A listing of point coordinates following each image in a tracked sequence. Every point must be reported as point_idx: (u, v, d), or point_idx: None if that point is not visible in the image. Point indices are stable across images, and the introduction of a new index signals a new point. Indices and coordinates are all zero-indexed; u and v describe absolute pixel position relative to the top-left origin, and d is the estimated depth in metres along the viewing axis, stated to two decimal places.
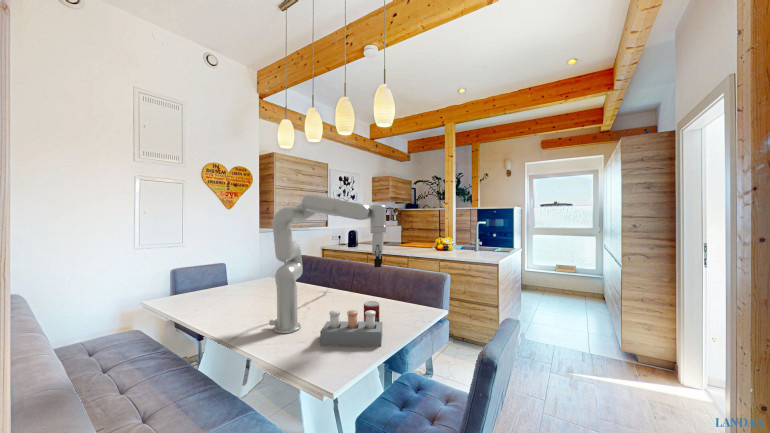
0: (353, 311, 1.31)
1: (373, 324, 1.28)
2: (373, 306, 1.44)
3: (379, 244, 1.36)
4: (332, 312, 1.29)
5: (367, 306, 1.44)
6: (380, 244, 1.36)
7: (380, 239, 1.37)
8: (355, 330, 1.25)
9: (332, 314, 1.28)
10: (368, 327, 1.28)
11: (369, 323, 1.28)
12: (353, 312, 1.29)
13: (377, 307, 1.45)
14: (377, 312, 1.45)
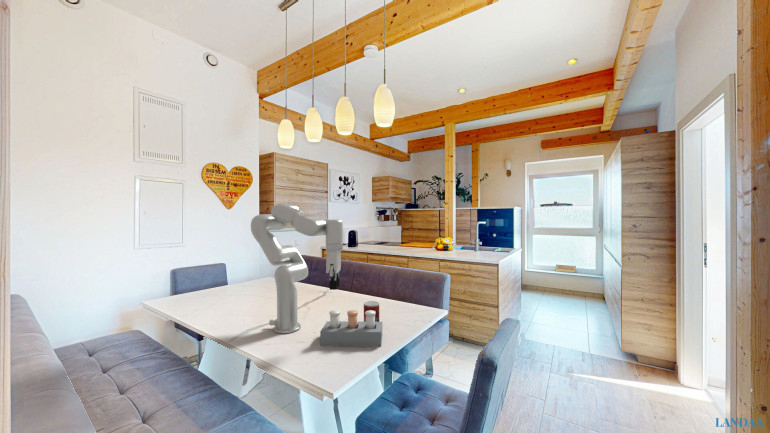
0: (353, 311, 1.31)
1: (373, 324, 1.28)
2: (373, 306, 1.44)
3: (333, 263, 1.25)
4: (332, 312, 1.29)
5: (367, 306, 1.44)
6: (335, 263, 1.25)
7: (335, 257, 1.25)
8: (355, 330, 1.25)
9: (332, 314, 1.28)
10: (368, 327, 1.28)
11: (369, 323, 1.28)
12: (353, 312, 1.29)
13: (377, 307, 1.45)
14: (377, 312, 1.45)
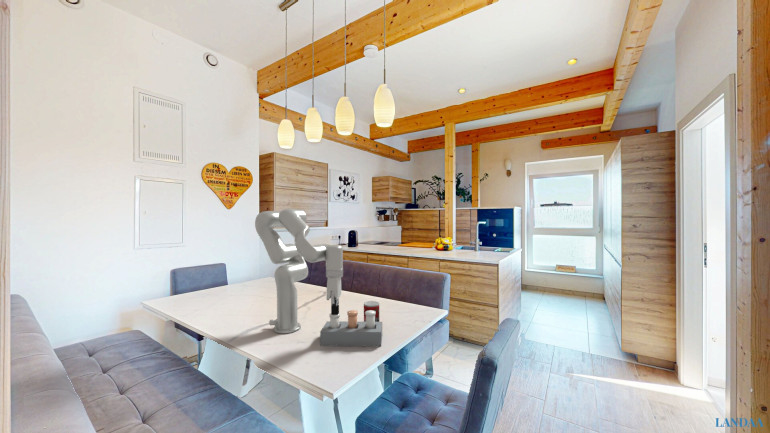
0: (353, 311, 1.31)
1: (373, 324, 1.28)
2: (373, 306, 1.44)
3: (334, 290, 1.25)
4: None
5: (367, 306, 1.44)
6: (335, 290, 1.25)
7: (335, 284, 1.25)
8: (355, 330, 1.25)
9: (332, 316, 1.28)
10: (368, 327, 1.28)
11: (369, 323, 1.28)
12: (353, 312, 1.29)
13: (377, 307, 1.45)
14: (377, 312, 1.45)
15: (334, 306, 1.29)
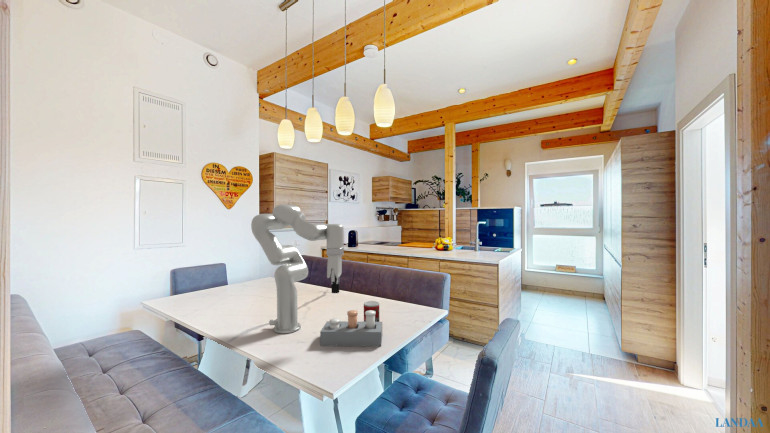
0: (353, 311, 1.31)
1: (373, 324, 1.28)
2: (373, 306, 1.44)
3: (334, 268, 1.25)
4: (332, 320, 1.29)
5: (367, 306, 1.44)
6: (335, 268, 1.25)
7: (336, 262, 1.25)
8: (355, 330, 1.25)
9: (332, 322, 1.28)
10: (368, 327, 1.28)
11: (369, 323, 1.28)
12: (353, 312, 1.29)
13: (377, 307, 1.45)
14: (377, 312, 1.45)
15: (334, 284, 1.29)
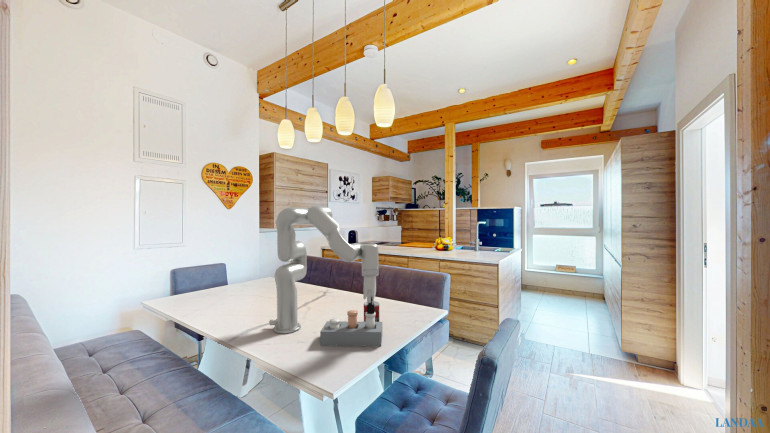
0: (353, 311, 1.31)
1: (373, 325, 1.28)
2: None
3: (371, 289, 1.25)
4: (332, 320, 1.29)
5: None
6: (372, 289, 1.25)
7: (372, 283, 1.25)
8: (355, 330, 1.25)
9: (332, 322, 1.28)
10: (368, 328, 1.28)
11: (369, 324, 1.28)
12: (353, 312, 1.29)
13: (377, 307, 1.45)
14: (377, 312, 1.45)
15: (370, 305, 1.28)
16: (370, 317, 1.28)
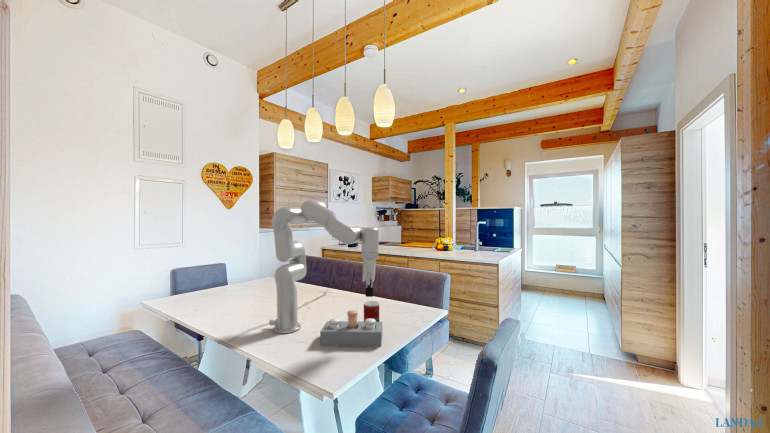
0: (353, 311, 1.31)
1: None
2: (373, 306, 1.44)
3: (370, 271, 1.25)
4: (332, 320, 1.29)
5: (367, 306, 1.44)
6: (371, 271, 1.25)
7: (371, 266, 1.25)
8: (355, 330, 1.25)
9: (332, 322, 1.28)
10: None
11: None
12: (353, 312, 1.29)
13: (377, 307, 1.45)
14: (377, 312, 1.45)
15: (369, 288, 1.28)
16: (370, 324, 1.28)
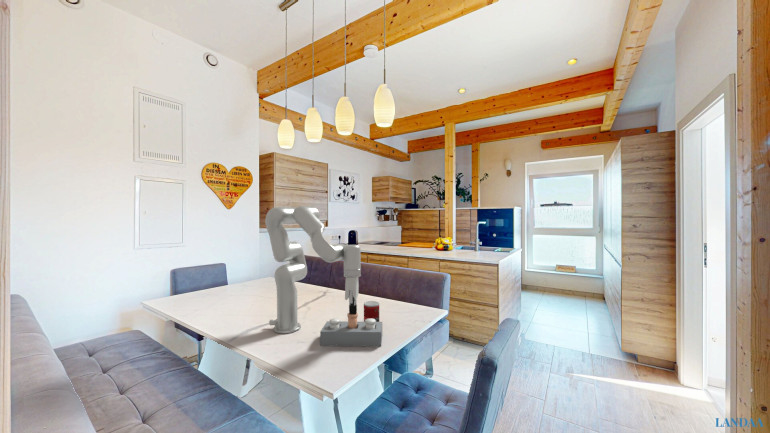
0: None
1: None
2: (373, 306, 1.44)
3: (352, 290, 1.25)
4: (332, 320, 1.29)
5: (367, 306, 1.44)
6: (353, 289, 1.25)
7: (353, 284, 1.25)
8: (355, 330, 1.25)
9: (332, 322, 1.28)
10: None
11: None
12: (353, 314, 1.29)
13: (377, 307, 1.45)
14: (377, 312, 1.45)
15: (352, 306, 1.28)
16: (370, 324, 1.28)
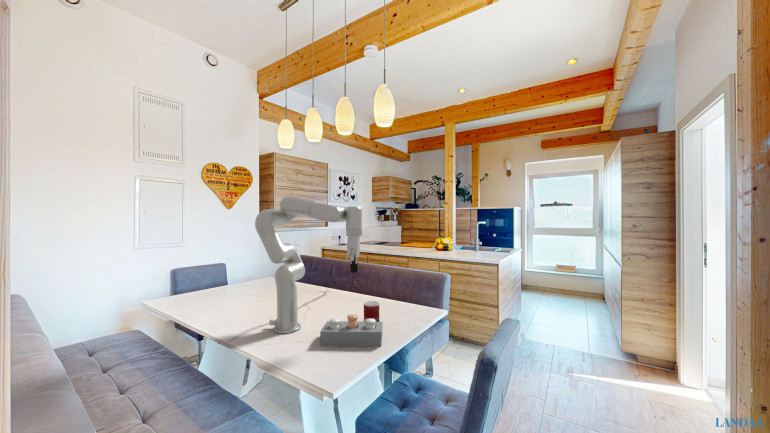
0: (353, 315, 1.31)
1: None
2: (373, 306, 1.44)
3: (354, 247, 1.31)
4: (332, 320, 1.29)
5: (367, 306, 1.44)
6: (355, 247, 1.31)
7: (355, 242, 1.31)
8: (355, 330, 1.25)
9: (332, 322, 1.28)
10: None
11: None
12: (353, 316, 1.29)
13: (377, 307, 1.45)
14: (377, 312, 1.45)
15: (353, 264, 1.34)
16: (370, 324, 1.28)
